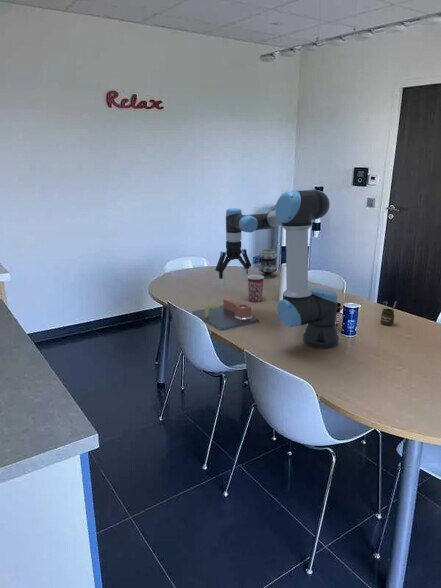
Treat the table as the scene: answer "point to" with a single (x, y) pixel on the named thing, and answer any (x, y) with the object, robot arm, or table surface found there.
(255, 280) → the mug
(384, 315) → the utensil holder
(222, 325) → the plate
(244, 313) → the link
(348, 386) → the table surface
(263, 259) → the apothecary jar
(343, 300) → the table surface
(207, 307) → the block
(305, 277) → the robot arm
